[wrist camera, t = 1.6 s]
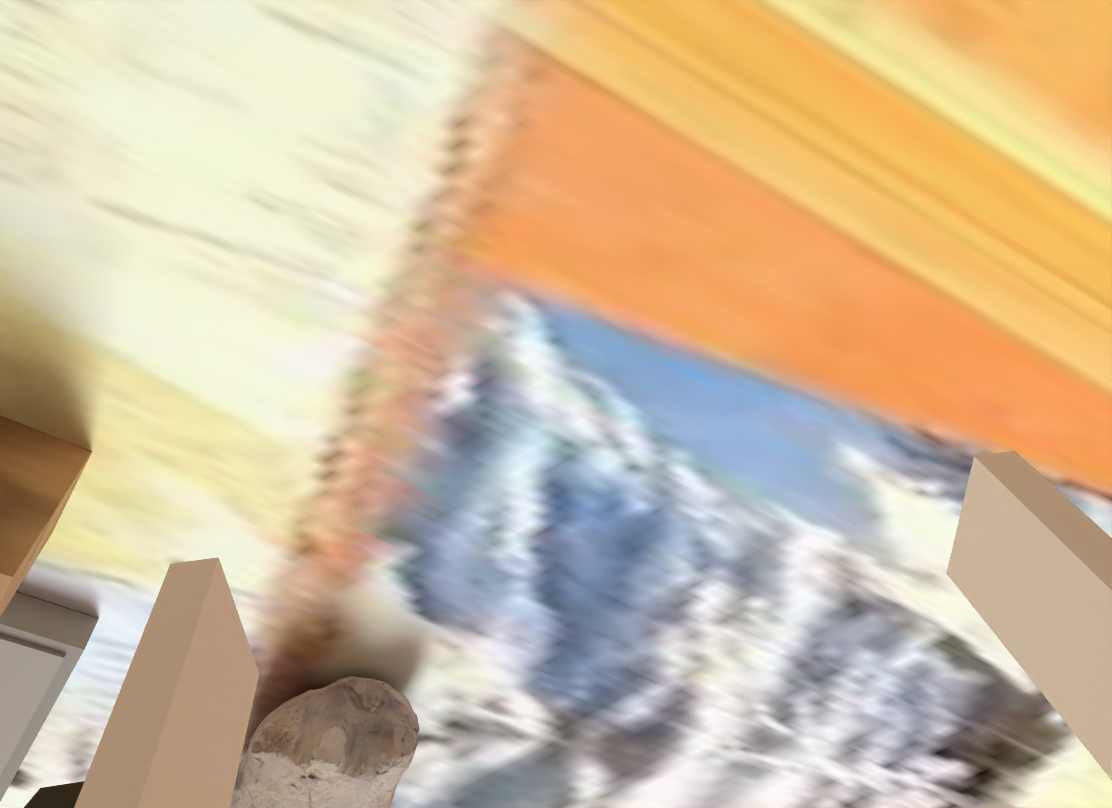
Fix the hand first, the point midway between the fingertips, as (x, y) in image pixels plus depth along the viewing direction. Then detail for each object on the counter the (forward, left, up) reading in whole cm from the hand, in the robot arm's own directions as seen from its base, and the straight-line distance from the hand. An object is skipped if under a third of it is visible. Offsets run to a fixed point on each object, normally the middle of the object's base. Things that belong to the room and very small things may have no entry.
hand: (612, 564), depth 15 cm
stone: (+7, -30, -22) cm, 38 cm away
